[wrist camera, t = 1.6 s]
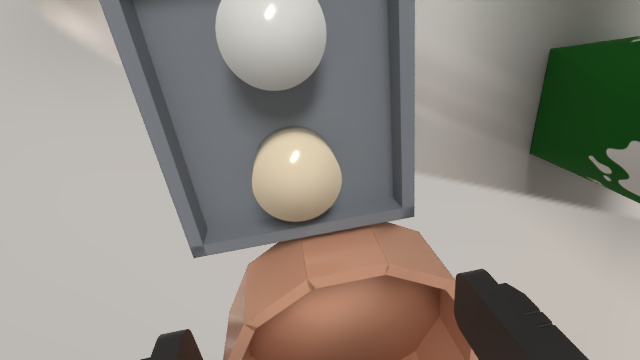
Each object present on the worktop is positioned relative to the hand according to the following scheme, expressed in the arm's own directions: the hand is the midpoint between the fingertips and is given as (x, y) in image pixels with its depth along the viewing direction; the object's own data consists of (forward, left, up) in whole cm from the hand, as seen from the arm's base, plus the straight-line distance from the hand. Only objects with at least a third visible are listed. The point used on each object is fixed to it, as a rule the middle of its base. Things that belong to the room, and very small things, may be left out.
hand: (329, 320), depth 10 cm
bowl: (+14, +2, -13) cm, 19 cm away
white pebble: (-8, 0, -12) cm, 15 cm away
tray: (-4, 0, -13) cm, 14 cm away
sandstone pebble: (0, 0, -12) cm, 12 cm away
